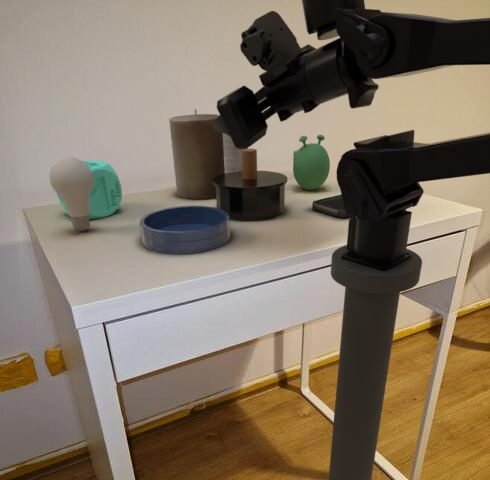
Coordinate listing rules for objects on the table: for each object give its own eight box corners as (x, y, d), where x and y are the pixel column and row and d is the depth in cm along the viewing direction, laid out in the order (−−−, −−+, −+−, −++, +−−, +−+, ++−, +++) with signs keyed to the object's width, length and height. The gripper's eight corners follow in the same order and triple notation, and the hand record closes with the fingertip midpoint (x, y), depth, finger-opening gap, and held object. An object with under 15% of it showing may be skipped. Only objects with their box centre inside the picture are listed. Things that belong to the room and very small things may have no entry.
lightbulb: (64, 239, 69) (46, 163, 64) (60, 228, 74) (43, 156, 69) (105, 233, 71) (91, 158, 66) (99, 222, 76) (86, 152, 71)
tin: (297, 209, 79) (298, 180, 77) (249, 225, 73) (249, 193, 70) (251, 198, 87) (250, 171, 84) (203, 211, 80) (201, 182, 78)
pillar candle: (235, 193, 90) (232, 108, 82) (191, 202, 85) (183, 113, 78) (210, 184, 97) (204, 105, 89) (167, 192, 92) (158, 109, 85)
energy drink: (251, 176, 103) (250, 117, 97) (243, 181, 98) (242, 120, 92) (229, 175, 104) (226, 116, 98) (220, 180, 100) (217, 119, 94)
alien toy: (311, 182, 96) (313, 130, 91) (335, 190, 90) (339, 134, 85) (283, 187, 93) (283, 134, 88) (307, 195, 87) (309, 138, 82)
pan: (248, 236, 68) (247, 216, 67) (177, 261, 61) (175, 239, 59) (194, 219, 76) (192, 201, 75) (126, 239, 69) (122, 219, 67)
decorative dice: (85, 222, 77) (74, 172, 73) (60, 214, 81) (49, 166, 77) (125, 211, 82) (118, 164, 78) (100, 204, 86) (92, 158, 82)
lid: (302, 184, 77) (303, 148, 74) (249, 199, 70) (248, 160, 67) (250, 173, 85) (250, 141, 82) (197, 186, 78) (195, 151, 75)
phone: (309, 201, 79) (370, 187, 86) (309, 208, 79) (369, 193, 87) (343, 212, 73) (405, 195, 81) (342, 219, 74) (404, 202, 81)
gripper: (336, -22, 56) (249, 30, 67) (241, 30, 47) (160, 80, 59) (365, 73, 61) (280, 106, 73) (285, 136, 52) (202, 162, 64)
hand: (234, 112), depth 67 cm, fingers open, 9 cm apart
